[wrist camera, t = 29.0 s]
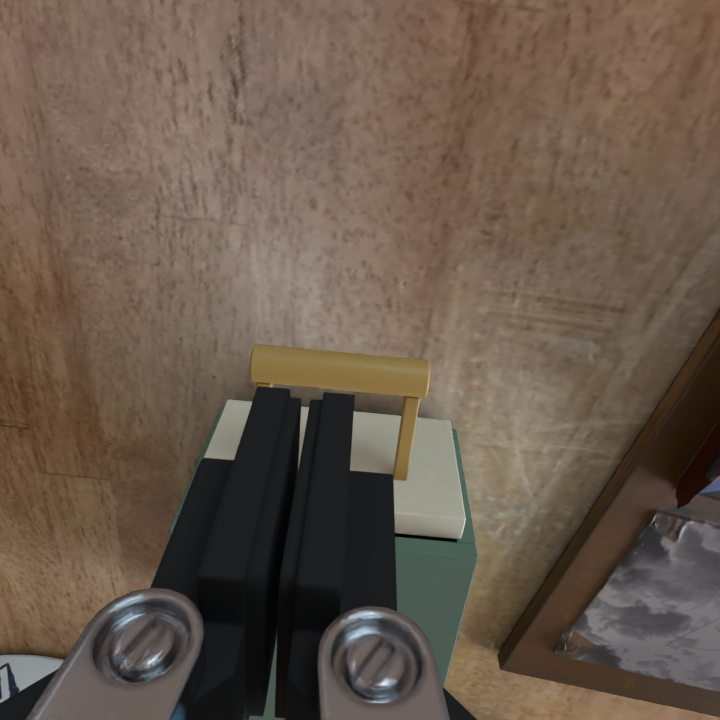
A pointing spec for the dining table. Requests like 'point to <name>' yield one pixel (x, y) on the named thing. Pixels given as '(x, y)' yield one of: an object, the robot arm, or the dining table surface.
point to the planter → (23, 672)
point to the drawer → (370, 430)
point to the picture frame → (643, 564)
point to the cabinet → (415, 583)
